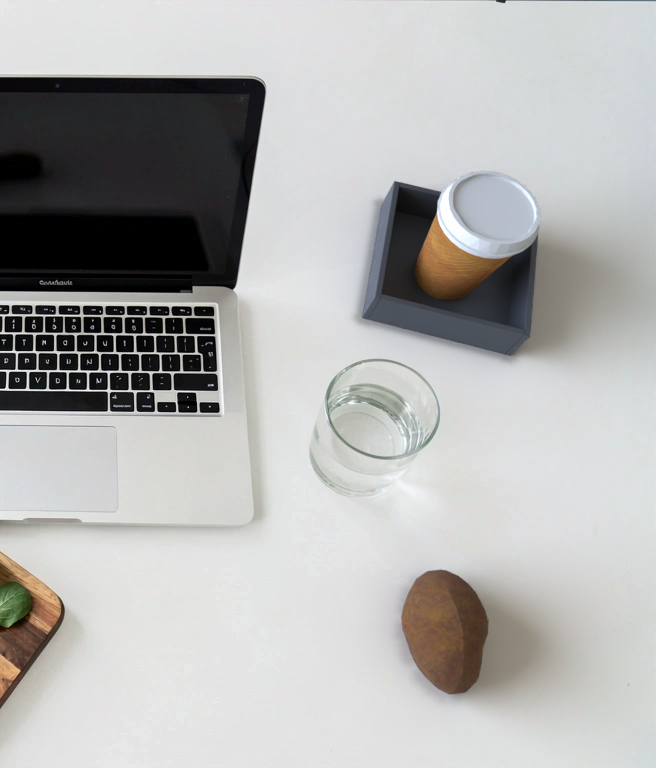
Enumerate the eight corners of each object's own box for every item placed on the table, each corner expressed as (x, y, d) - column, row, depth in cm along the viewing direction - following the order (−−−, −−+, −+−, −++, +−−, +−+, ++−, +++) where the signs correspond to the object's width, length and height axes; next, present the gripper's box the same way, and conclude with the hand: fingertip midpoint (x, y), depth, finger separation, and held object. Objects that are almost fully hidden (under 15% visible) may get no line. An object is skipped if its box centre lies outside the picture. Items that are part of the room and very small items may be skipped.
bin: (519, 240, 99) (540, 214, 95) (508, 358, 92) (530, 336, 88) (380, 206, 100) (394, 180, 96) (360, 320, 94) (374, 297, 90)
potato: (402, 698, 78) (434, 687, 71) (379, 578, 82) (407, 558, 76) (483, 695, 78) (522, 684, 72) (455, 575, 82) (489, 555, 76)
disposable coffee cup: (399, 231, 98) (443, 159, 88) (488, 247, 98) (544, 175, 87) (396, 305, 94) (442, 238, 83) (489, 322, 93) (547, 256, 83)
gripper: (710, -91, 86) (717, 70, 77) (445, -139, 89) (422, 11, 80) (767, -168, 79) (781, -1, 70) (478, -217, 82) (457, -63, 73)
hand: (590, 6), depth 75 cm, fingers open, 13 cm apart
